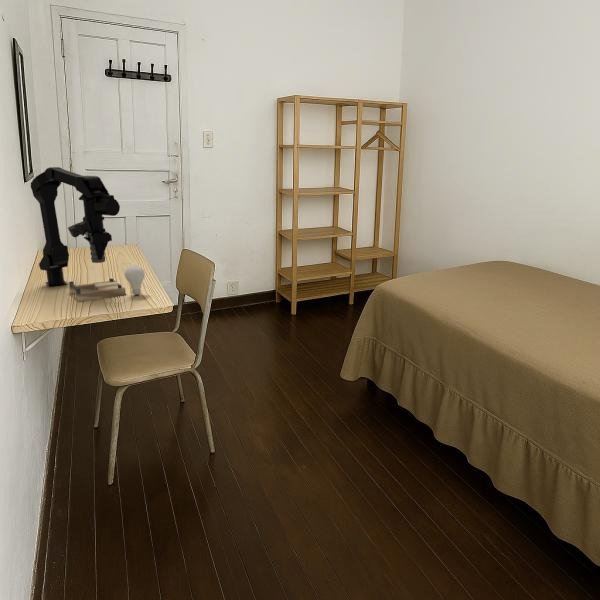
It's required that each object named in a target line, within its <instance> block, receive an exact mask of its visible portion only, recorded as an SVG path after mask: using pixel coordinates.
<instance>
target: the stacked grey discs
mask: <svg viewBox="0 0 600 600" xmlns="http://www.w3.org/2000/svg"><path fill="white" fill-rule="evenodd" d="M89 246H90V247H89V250H90V256H91V257H90V260H91V263H93V264H94V263H95V264H100V263H101V264H102V263H105V262H106V256H105V255H106V253H105V252H106V251H104V254H103V257H102V259H101V260H99V259H98V257H97V254H96V250H95V246H94V245H93V244H91V245H90V244H89Z"/></svg>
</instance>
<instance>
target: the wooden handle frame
mask: <svg viewBox="0 0 600 600" xmlns="http://www.w3.org/2000/svg"><path fill="white" fill-rule="evenodd" d="M68 283H69V293H70V294H71V295H75V297H76V301H77V302H79V303H80V302H84V301H85V302H86V301H94V300H99V299H107V298H112V296H114V297H119V296H126V295H127V292H126V287H125V286H123V285H122V284H120V282H118V281H116V280H115V279H114V278H109V280H107V281H98V282H91V283H83V284H74V281H68ZM106 297H107V298H106Z"/></svg>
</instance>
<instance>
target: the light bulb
mask: <svg viewBox="0 0 600 600" xmlns="http://www.w3.org/2000/svg"><path fill="white" fill-rule="evenodd" d="M124 271H125V272H124V276H125V277H124V278H125V279H126V281H127V282H128V283H129V285H130V288H131V291H132V292H131V293H132V294H133V295H134V296H139V295H141V293H142V291H141V289H142V283H143V281H144V279H145V275H146V272H145V270H144V268H143V267H142V266H140V265H139V264H132V265H129V266H128V267H127V268H126V269H125V270H124Z"/></svg>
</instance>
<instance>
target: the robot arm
mask: <svg viewBox="0 0 600 600" xmlns="http://www.w3.org/2000/svg"><path fill="white" fill-rule="evenodd" d="M63 183H64V184H66V185H69V186H72V187H74V188H75V191H76V192H78V193H80V194H81V195H80V196H79V197H78V200H79V201H82V203H83V210H84V212H83V213H84V215H83V217H82V221H80V222H78V223H75V224H72V225H71V226H69V227H67V229H68V232H69V234H70V235H71V237H73V239H74V238H77V237H79V236H84V237H83V239H84V240H86V241H87V242H88V243H89V246H90V245H91V244H93V245H94V246H95V250H96V254H97V257H98V259H99V260H101V259H102V257H103V254H104V252H106V248H107V246H108V243H109V242H112V241H113V240H112V239H113V238H112V234H111V233H110V232H108V231H106V228H105V227H104V220H105V216H110V217H115V216H117V215H118V214H119V213H120V209H121V205H120V204H119V201H118V200H117V199H115V196H114V195H113V194H110V193H109V191H108V189H107V188H106V186H105V184H104V182H103V181H102V180H101V177H99V176H97V175H82V174H79V173H77V172H76V173H75V172H72V171H69V170H67V169H65V168H64V169H63V168H62V167H59V166H55V167H54V166H53V167H47V168H46V169H45V170H44V171H43V172H41V173H40V174H37V176H35V177H34V178H33V179H32V181H31V182H30V189H31V192H32V196H33V197H34V199H36V200H37V202H38V203H39V209H40V214H41V220H42V225H43V230H44V231H43V232H44V238H45V244H44V247H43V249H42V258H41V260H40V261H39V263H38V267H39V268H40V270H41V271H45V272H46V279H47V281H45V284H46V286H47V287H55V286H56V287H57V286H63V285H67V281H65V277H64V270H63V268H68V266H69V260H70V259H69V256H70V254H69V249H68V246H67V245H65V244H64V243H63V241H61V235H60V228H59V224H58V223H59V222H58V218H57V210H56V204H55V202H56V199H57V196H58V188H59V187H60V186H61V185H62V184H63Z"/></svg>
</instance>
